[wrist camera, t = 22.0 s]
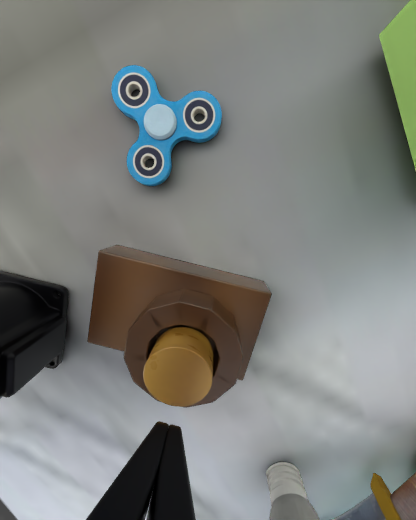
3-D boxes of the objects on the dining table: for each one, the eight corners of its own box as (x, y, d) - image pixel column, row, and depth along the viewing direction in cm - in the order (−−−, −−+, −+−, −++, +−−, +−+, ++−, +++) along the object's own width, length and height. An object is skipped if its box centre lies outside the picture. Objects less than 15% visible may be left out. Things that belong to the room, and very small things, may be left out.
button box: (103, 337, 16) (64, 378, 12) (116, 244, 14) (76, 257, 10) (235, 369, 16) (241, 422, 12) (264, 281, 14) (281, 307, 10)
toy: (74, 109, 11) (85, 118, 12) (145, 192, 12) (150, 195, 13) (160, 23, 11) (164, 41, 12) (231, 115, 11) (229, 124, 12)
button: (149, 370, 12) (137, 397, 10) (159, 320, 11) (149, 339, 9) (205, 384, 12) (203, 414, 10) (219, 334, 11) (220, 357, 9)
